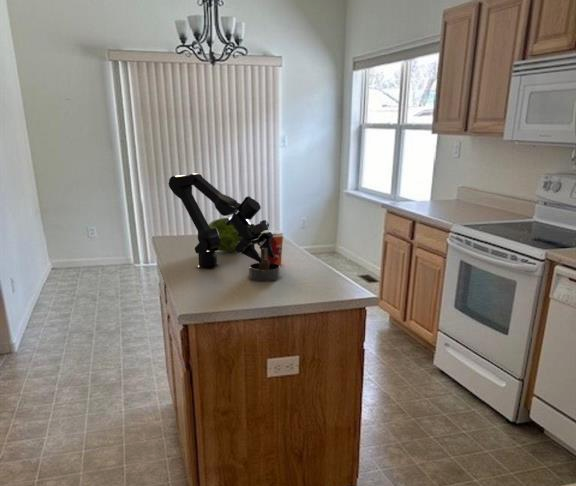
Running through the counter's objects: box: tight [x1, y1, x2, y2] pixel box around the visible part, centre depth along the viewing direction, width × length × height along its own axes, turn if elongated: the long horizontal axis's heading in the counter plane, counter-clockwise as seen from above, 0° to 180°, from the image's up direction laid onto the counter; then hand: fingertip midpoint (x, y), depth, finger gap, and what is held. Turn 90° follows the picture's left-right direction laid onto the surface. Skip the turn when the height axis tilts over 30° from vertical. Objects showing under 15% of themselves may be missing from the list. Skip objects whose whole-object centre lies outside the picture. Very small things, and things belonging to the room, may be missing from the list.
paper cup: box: [266, 230, 285, 267], centre depth 221 cm, size 8×8×14 cm
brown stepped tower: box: [258, 247, 269, 270], centre depth 204 cm, size 6×6×11 cm
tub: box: [248, 262, 281, 283], centre depth 205 cm, size 12×12×4 cm
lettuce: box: [208, 216, 264, 253], centre depth 244 cm, size 15×27×16 cm, turn 112°
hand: (267, 259), depth 203 cm, fingers open, 8 cm apart
